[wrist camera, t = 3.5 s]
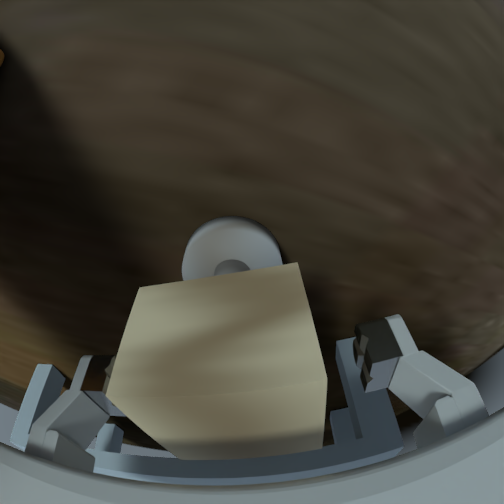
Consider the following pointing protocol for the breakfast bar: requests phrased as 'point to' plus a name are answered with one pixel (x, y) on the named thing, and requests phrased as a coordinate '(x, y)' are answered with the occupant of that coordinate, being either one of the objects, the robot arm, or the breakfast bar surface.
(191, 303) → the peg
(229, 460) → the keyhole stand
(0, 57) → the coffee package
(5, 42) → the breakfast bar surface
